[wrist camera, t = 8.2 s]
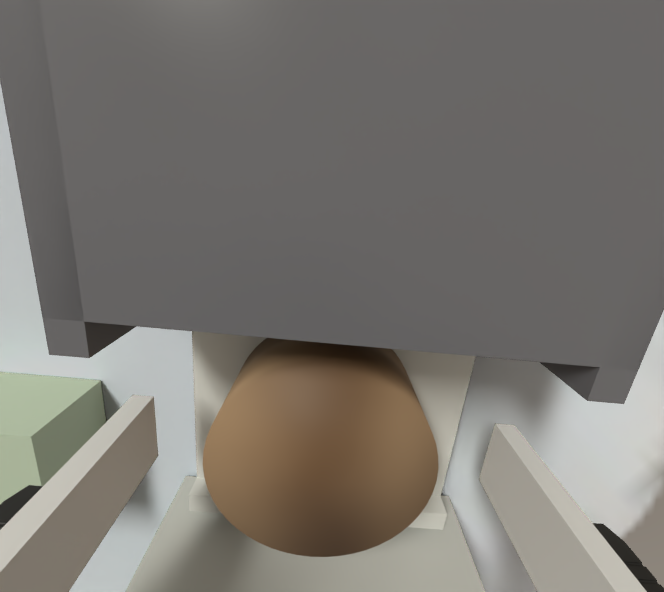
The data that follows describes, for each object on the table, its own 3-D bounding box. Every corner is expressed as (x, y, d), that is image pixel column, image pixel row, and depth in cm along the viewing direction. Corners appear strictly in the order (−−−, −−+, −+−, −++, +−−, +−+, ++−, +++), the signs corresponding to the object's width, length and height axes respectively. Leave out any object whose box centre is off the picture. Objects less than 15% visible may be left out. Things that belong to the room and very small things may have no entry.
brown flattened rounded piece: (234, 465, 16) (204, 549, 12) (236, 312, 14) (199, 357, 10) (396, 477, 16) (416, 563, 12) (425, 328, 14) (460, 379, 10)
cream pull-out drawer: (173, 204, 14) (60, 211, 8) (516, 238, 14) (639, 267, 9) (186, 489, 18) (120, 622, 13) (444, 509, 19) (494, 647, 13)
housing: (152, -209, 10) (-186, -963, 4) (618, -148, 11) (1100, -725, 4) (175, 282, 15) (49, 354, 8) (497, 312, 15) (623, 404, 9)
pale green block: (18, 452, 18) (-68, 523, 14) (-1, 371, 16) (-102, 426, 13) (111, 459, 18) (51, 531, 14) (100, 380, 17) (30, 436, 13)
